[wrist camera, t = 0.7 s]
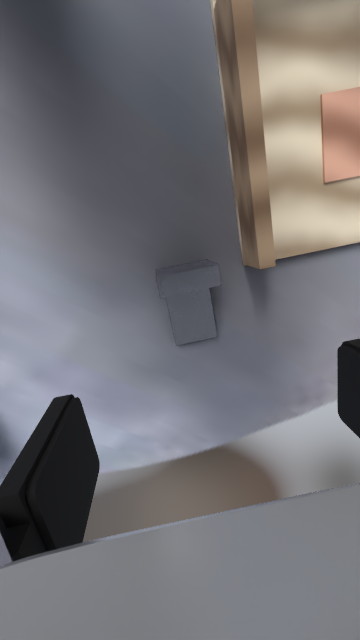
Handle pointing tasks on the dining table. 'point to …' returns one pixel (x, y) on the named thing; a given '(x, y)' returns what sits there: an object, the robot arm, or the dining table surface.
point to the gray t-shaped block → (190, 299)
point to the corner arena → (291, 122)
